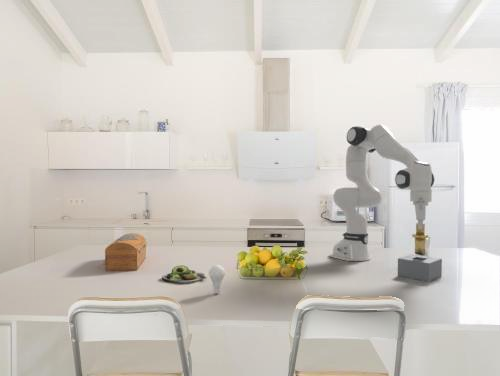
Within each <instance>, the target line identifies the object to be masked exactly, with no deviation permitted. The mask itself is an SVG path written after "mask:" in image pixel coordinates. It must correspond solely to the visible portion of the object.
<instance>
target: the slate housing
mask: <svg viewBox="0 0 500 376" xmlns="http://www.w3.org/2000/svg"><path fill="white" fill-rule="evenodd" d="M442 265H443V258H439V257H431V256H429V257H427V256H420V255H416V254H414V253H413V254H412V253H411V254H407V255H404V256H401V257H398V258H397V277H402V278H406V279H407V278H408V279H412V280H416V279H418V280H417V281H422V280H424V281H423V282H427V281H430V282H432V281H434V280H436V278H437V279H439V278H441V277H442V276H443V275H442V272H443V267H442ZM438 277H439V278H438ZM433 279H434V280H433ZM431 280H432V281H431Z"/></svg>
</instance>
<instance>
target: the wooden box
mask: <svg viewBox="0 0 500 376" xmlns="http://www.w3.org/2000/svg"><path fill="white" fill-rule="evenodd" d="M146 258H147V239H146V238H145V237H144V236H143V235H141V234H139V233H135V232H134V233H132V232H131V233H126V234H124V235H122V236H120V237H118V238H117V239H115V241H113V242H111V243H110V244H109V245H108V246H106V247H105V249H104V267H105V271H106V272H120V271H122V272H126V271H138V269H140V267H141V265H142V264H143V263H144V261H145V260H146Z"/></svg>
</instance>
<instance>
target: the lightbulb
mask: <svg viewBox="0 0 500 376" xmlns="http://www.w3.org/2000/svg"><path fill="white" fill-rule="evenodd" d="M225 271H226V270H225V269H224V267H223V266H221V265H219V264H214V265H212V266H211V267H210V268H209V271H208V276H209V278H210V280H211V282H212V288H213V293H215V294H219V293H221V286H222V282H223V280H224V277H225V276H226V272H225Z"/></svg>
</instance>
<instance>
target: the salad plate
mask: <svg viewBox="0 0 500 376" xmlns="http://www.w3.org/2000/svg"><path fill="white" fill-rule="evenodd" d="M207 278H208V277H207V276H206V274H205V273H204V272H199V271H198V272H197V271H196V270H193V269H189V267H188V266H186V265H177V266H174V267H173V268H172V269H171V272H170V273H166V274H163V275H161V279H162V280H163V281H164V282H168V283H175V284H183V285H184V284H193V283H197V282H199V281H201V280H204V279H207Z"/></svg>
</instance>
